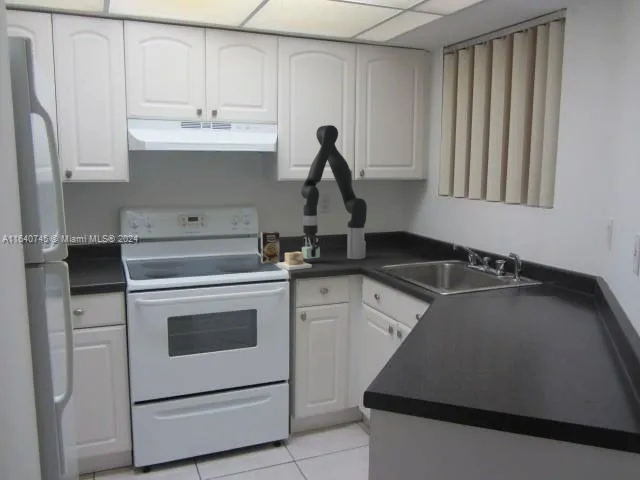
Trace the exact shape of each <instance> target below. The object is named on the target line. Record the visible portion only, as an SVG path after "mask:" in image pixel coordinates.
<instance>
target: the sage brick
mask: <svg viewBox="0 0 640 480" xmlns="http://www.w3.org/2000/svg"><path fill="white" fill-rule="evenodd" d="M320 248H321V247H320V246H318V249H316V256H315V257H312V256H311V250H312V249H311V246H307V247H305V246H302V247H301V253H303V259H306V260H309V259H317V258H321V253H320V252H321V251H320Z"/></svg>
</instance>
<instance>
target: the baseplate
mask: <svg viewBox="0 0 640 480" xmlns="http://www.w3.org/2000/svg"><path fill="white" fill-rule="evenodd" d="M312 265H313V264H311V263H309V262H305V261H303V264H297V265H287V264H285V261H282V262H281V261H279V263H276V266H277V267H279V268H282V269H284V270H287V271H294V270H301V269H302V270H303V269H311V268H312Z"/></svg>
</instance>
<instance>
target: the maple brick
mask: <svg viewBox="0 0 640 480" xmlns="http://www.w3.org/2000/svg"><path fill="white" fill-rule="evenodd" d="M284 262H285V264H287V265H297V264H303V262H304V258H303V253H302V251H291V252H284Z"/></svg>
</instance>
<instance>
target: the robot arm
mask: <svg viewBox="0 0 640 480" xmlns="http://www.w3.org/2000/svg"><path fill="white" fill-rule="evenodd" d="M338 137H339V130H338V128H337V127H336V126H335V125H333V124H332V125H331V124H328V125H320V126H319V127H318V128H317V130H316V140H317V141H318V143H319V145H320V148H319V150H318V153H317V154H316V155H315V158H314V160H313V161H312V163H311V165H310V168H309V171H308V175H307V177H306V179H305V181H304V182H303V184H302V187H301V192H300V193H301V196H302V197H303V198H304V199H306V204H304V205H303V218H302V220H303V221H302V222H303V223H302V225H303V227H302V229H303V231H302V232H303V234H304V235H302V237H301V238H302V244H303V245H302V247H307V246H311V249H312V250H311V256H312V257H315V256H316V249H318V247H320V246H319V245H320V244H319V243H320V238H319V237H317V236H316V235H317V234H318V232H319V230H318V229H319V228H318V225H319V224H318V223H319V222H318V220H319V219H318V204H319V198H320V192H319V191H320V190H319V189H318V187H317V184H318V183H320V182H321V180H322V177H323V174H324V170H325V168H326V164H327V163H328V164H329V167H330V170H331V173H332V174H333V177H334V179H335V182H336V185H337V188H338V189H339V192H340V193H341V198H342V200H343V204H344V208H345V210H346V211H347V212H348V213H349V214H350V215H351V218H350V220H349V221H348V222H347V240H346V241H347V244H346V245H347V246H346V247H347V249H346V250H347V251H346V252H347V253H346V255H347V256H346V258H347V259H348V260H349V259H350V260H363V259H365V258H366V246H367V244H366V240H365V226H366V225H365V224H366V222H367V210H368V207H367V203H366V201H365V200H364V199H363V198H359V197H357V196H356V193H355V191H354V189H353V185H352V184H353V175H352V171H351V169H350V167H349V164H348V162H347V161H346V158H345V157H344V156H343V155H342V153H340V151H339V150H338V148H337V147H336V142H337V140H338Z"/></svg>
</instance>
